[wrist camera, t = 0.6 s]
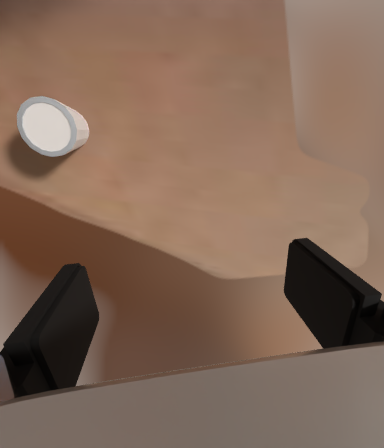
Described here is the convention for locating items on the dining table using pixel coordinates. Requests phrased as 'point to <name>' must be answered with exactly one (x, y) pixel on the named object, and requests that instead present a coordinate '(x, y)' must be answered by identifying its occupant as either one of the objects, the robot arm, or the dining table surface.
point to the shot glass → (51, 126)
